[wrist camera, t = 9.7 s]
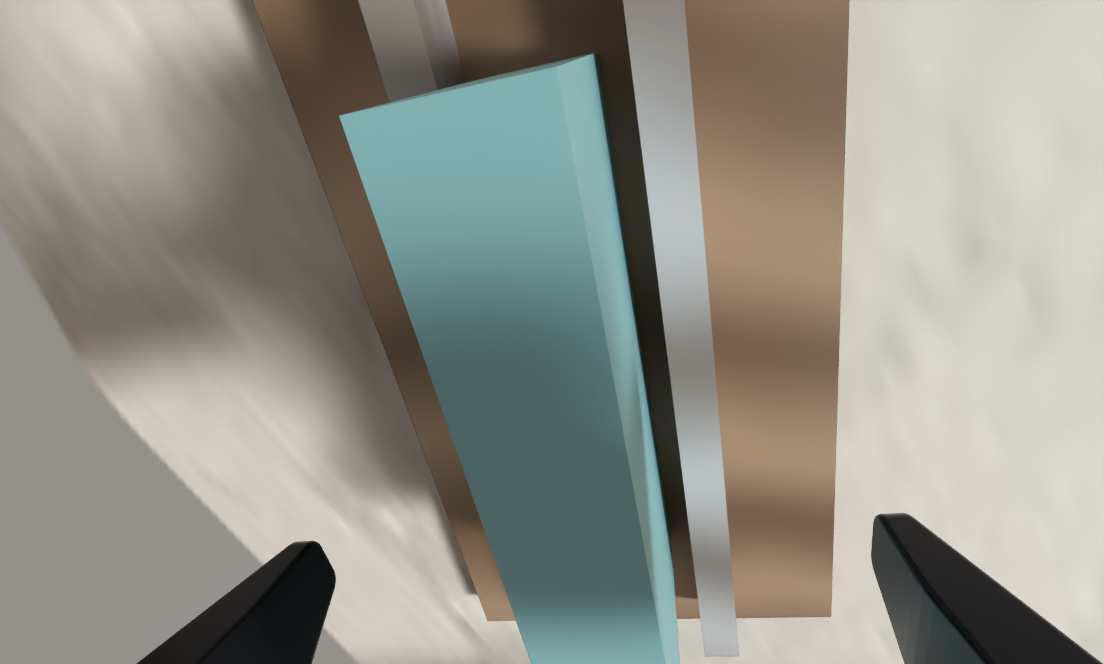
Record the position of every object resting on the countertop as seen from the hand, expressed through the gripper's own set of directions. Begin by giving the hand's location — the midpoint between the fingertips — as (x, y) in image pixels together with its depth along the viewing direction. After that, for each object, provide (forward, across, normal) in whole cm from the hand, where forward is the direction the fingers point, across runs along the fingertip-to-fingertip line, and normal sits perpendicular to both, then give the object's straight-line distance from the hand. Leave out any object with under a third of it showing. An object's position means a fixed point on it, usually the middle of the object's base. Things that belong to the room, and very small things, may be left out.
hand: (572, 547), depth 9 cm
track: (+8, 0, 0) cm, 8 cm away
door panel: (+7, 0, 0) cm, 7 cm away
